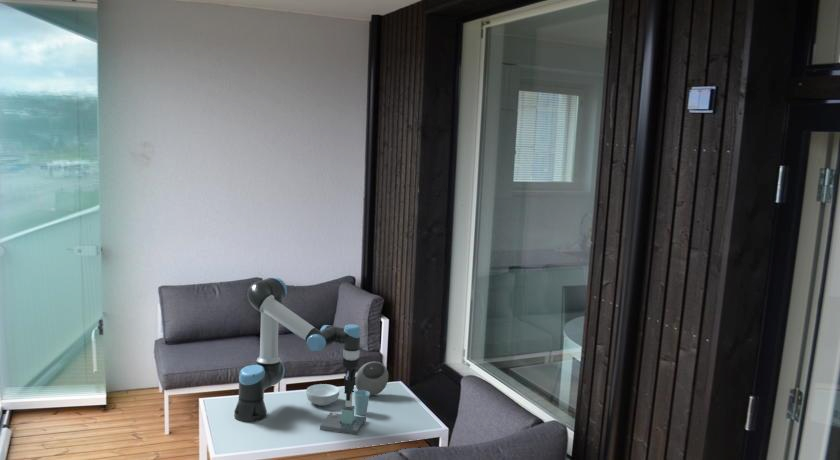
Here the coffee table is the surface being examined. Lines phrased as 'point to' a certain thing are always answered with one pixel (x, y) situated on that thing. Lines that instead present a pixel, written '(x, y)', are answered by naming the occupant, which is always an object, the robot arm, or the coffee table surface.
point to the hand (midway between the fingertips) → (348, 406)
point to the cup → (361, 401)
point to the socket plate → (334, 424)
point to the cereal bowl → (322, 394)
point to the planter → (372, 378)
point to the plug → (347, 415)
